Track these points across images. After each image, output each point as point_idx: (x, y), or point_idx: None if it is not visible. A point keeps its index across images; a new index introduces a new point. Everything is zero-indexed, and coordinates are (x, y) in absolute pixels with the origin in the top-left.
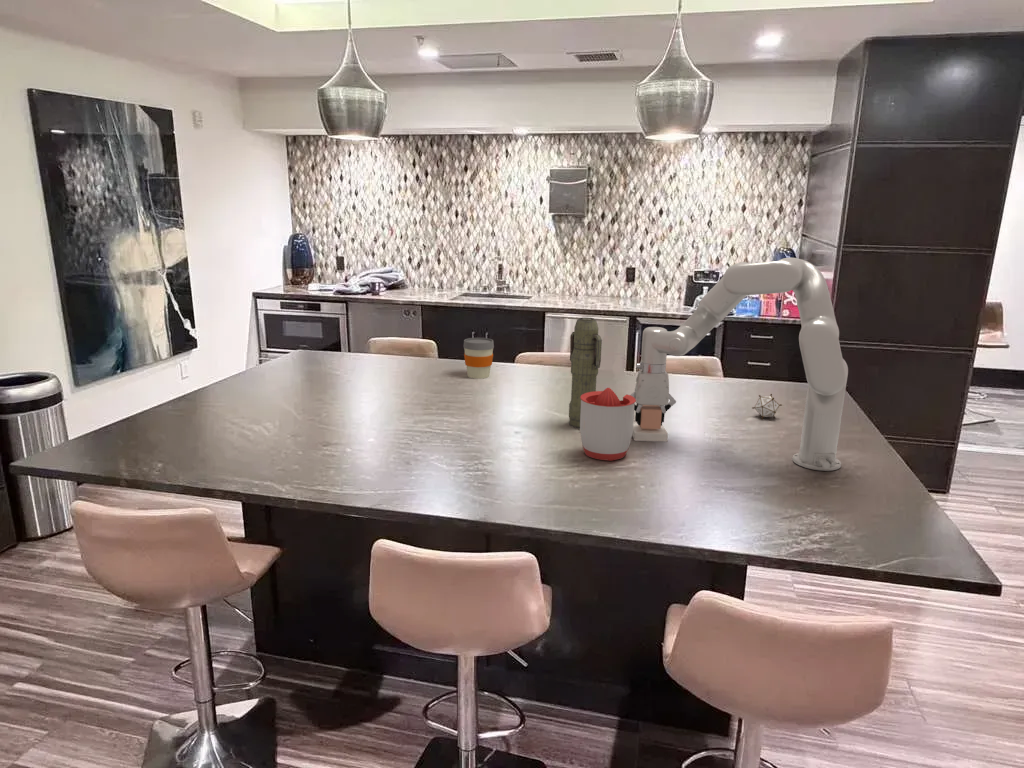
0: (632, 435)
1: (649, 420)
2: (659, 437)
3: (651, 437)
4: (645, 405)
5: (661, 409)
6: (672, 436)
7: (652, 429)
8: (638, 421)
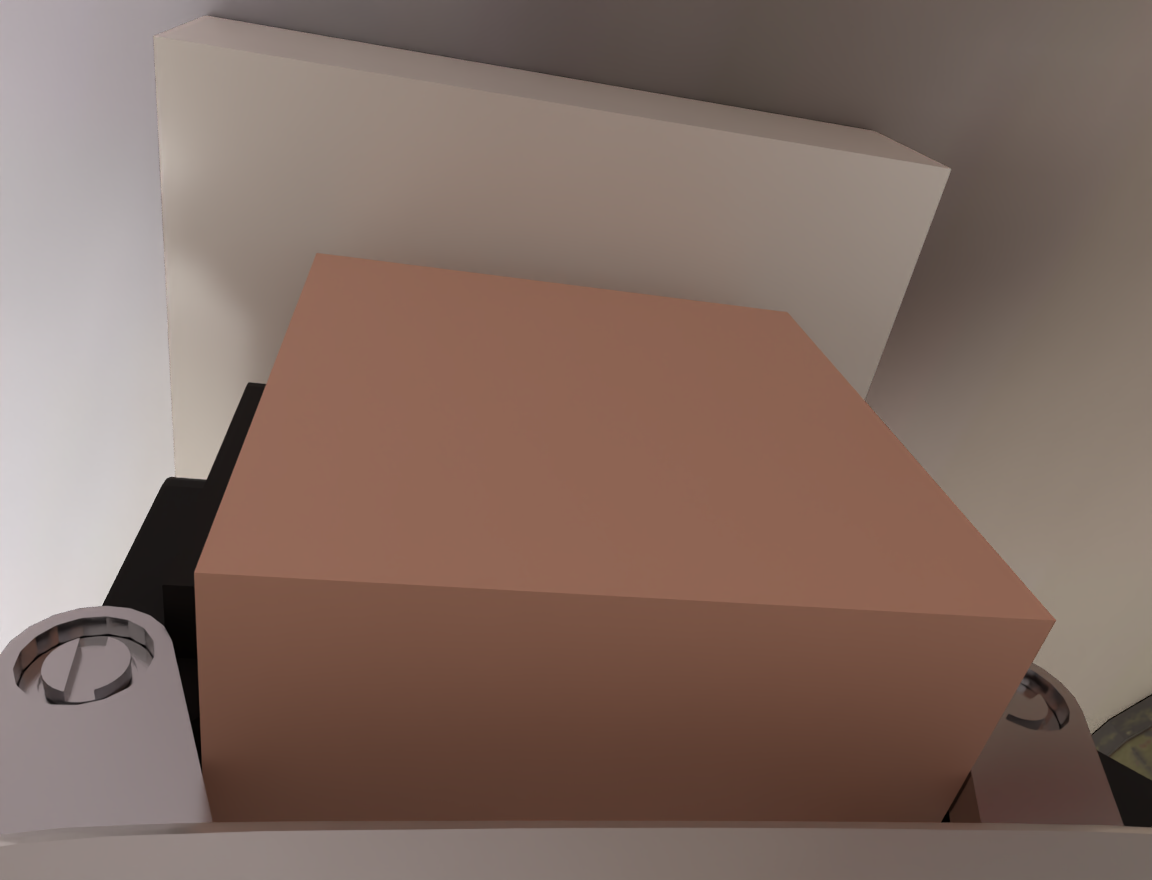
0: None
1: (648, 384)
2: (385, 59)
3: (569, 86)
4: None
5: (183, 727)
6: (40, 339)
7: None
8: None
